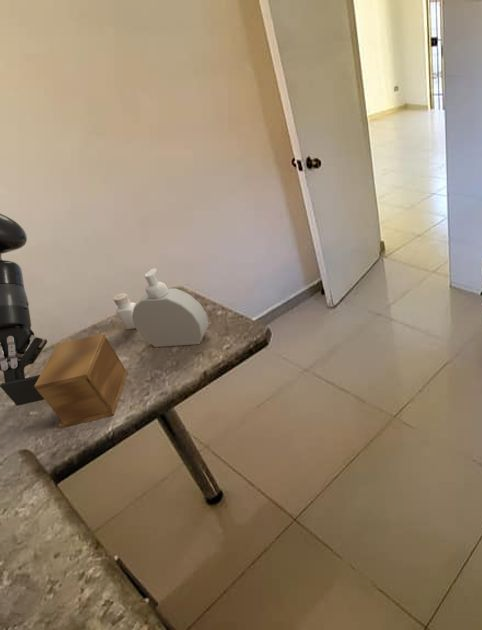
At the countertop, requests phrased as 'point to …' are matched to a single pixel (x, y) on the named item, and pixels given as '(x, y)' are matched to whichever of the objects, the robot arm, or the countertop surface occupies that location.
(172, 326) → the soap bottle
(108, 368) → the wooden box
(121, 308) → the white bottle
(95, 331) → the countertop surface
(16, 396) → the dark grey block
